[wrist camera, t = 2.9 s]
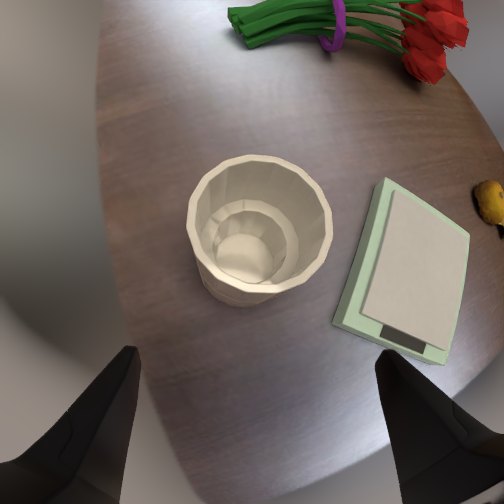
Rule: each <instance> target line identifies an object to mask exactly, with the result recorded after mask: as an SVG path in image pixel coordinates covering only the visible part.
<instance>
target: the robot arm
mask: <svg viewBox="0 0 504 504" xmlns="http://www.w3.org/2000/svg"><path fill="white" fill-rule="evenodd" d="M140 372H141V360H140V356H139V352H138V348H137V347H135V346H128V345H127V346H125V347H124V348H123V349H122V350H121V351H120V352H119V353H118V354H117V355H116V356H115V357H114V358H113V360H112V361H111V362H110V363H109V364H108V365H107V366H106V367H105V368H104V369H103V370H102V372H101V373H100V374H99V375H98V376H97V377H96V378H95V379H94V380H93V382H92V383H91V384H90V385H89V386H88V387H87V389H86V390H85V391H84V392H83V393H82V394H81V395H80V396H79V397H78V398H77V400H76V401H75V402H74V403H73V404H72V405H71V407H70V408H69V409H68V412H67V411H66V412H65V413H64V414H63V416H62V417H61V418H60V419H59V420H58V421H57V422H56V423H55V424H54V425H53V426H52V427H51V428H50V429H49V430H48V431H47V432H46V433H45V434H44V435H43V436H42V437H41V438H40V439H39V440H37V441H36V442H35V443H34V444H33V445H32V446H31V447H30V448H29V449H27V450H26V451H25V452H24V453H23V454H22V455H20V456H19V457H17V458H16V459H13V460H11V461H7V462H3V463H0V504H119V500H120V494H121V487H122V481H123V474H124V468H125V463H126V457H127V451H128V446H129V441H130V436H131V431H132V426H133V421H134V416H135V411H136V406H137V399H138V389H139V380H140ZM375 372H376V378H377V384H378V390H379V396H380V401H381V406H382V409H383V413H384V417H385V421H386V425H387V429H388V433H389V438H390V442H391V446H392V451H393V455H394V460H395V464H396V469H397V474H398V479H399V484H400V485H399V486H400V491H401V497H402V503H403V504H504V434H499V433H496V432H493V431H492V430H490V429H489V428H487V427H486V426H484V425H483V424H481V423H480V422H479V421H478V420H476V419H475V418H474V417H472V416H471V415H470V414H468V413H467V412H466V411H465V410H463V409H462V408H461V407H460V406H458V405H457V404H456V403H455V402H454V401H452V399H451V398H449V397H448V396H447V395H446V394H445V393H444V392H443V391H441V390H440V389H439V388H438V387H437V386H436V385H435V384H433V383H432V382H431V381H430V380H429V379H428V378H427V377H425V376H424V375H423V374H422V373H421V372H420V371H418V370H417V369H416V368H415V367H414V366H413V365H411V364H410V363H409V362H408V361H407V360H406V359H405V358H403V357H402V356H401V355H400V354H399V353H397V352H396V351H395V350H394V349H385V350H383V351H382V353H381V354H380V356H379V358H378V359H377V361H376V363H375Z"/></svg>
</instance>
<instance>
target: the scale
mask: <svg viewBox="0 0 504 504" xmlns="http://www.w3.org/2000/svg"><path fill="white" fill-rule="evenodd" d="M469 239H470V234H469V233H467V232H466V231H465V230H463V229H462V228H461V227H459V226H458V225H457V224H455V223H454V222H453V221H451V220H450V219H449V218H447V217H446V216H444V215H443V214H442V213H440V212H439V211H437V210H436V209H435V208H433V207H432V206H430V205H429V204H427V203H426V202H424V201H423V200H421V199H420V198H418V197H417V196H415V195H414V194H412V193H411V192H409V191H407V190H406V189H404V188H403V187H401V186H400V185H398V184H396V183H395V182H393V181H391V180H390V179H388V178H386V177H385V178H384V179H383V180H382V181H381V182H379V183H378V184H377V185H376V186H375V188H374V192H373V196H372V200H371V203H370V207H369V211H368V214H367V218H366V222H365V225H364V229H363V232H362V235H361V239H360V242H359V245H358V249H357V252H356V255H355V258H354V261H353V264H352V267H351V270H350V273H349V276H348V279H347V282H346V285H345V288H344V291H343V294H342V297H341V299H340V302H339V305H338V308H337V310H336V313H335V316H334V318H333V321H332V325H334V326H337V327H339V328H341V329H344V330H346V331H348V332H351V333H353V334H356V335H358V336H360V337H363V338H365V339H368V340H370V341H372V342H375V343H377V344H380V345H382V346H385V347H387V348H390V349H394V350H395V351H397V352H400V353H402V354H405V355H407V356H410V357H412V358H415V359H417V360H420V361H422V362H425V363H428V364H430V365H440V366H445V364H446V360H447V357H448V354H449V350H450V346H451V343H452V339H453V335H454V331H455V327H456V323H457V318H458V314H459V309H460V304H461V299H462V293H463V287H464V281H465V275H466V267H467V259H468V250H469Z"/></svg>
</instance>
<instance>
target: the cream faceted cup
mask: <svg viewBox="0 0 504 504" xmlns="http://www.w3.org/2000/svg"><path fill="white" fill-rule="evenodd" d="M186 227H187V232H188V236H189V240H190V243H191V247H192V250H193V254H194V258H195V261H196V265H197V268H198V271H199V274H200V277H201V280H202V283H203V285H204V286H205V287H206V289H207V290H208V291H209V292H210V293H211V294H212V295H213V296H214V297H215V298H216V299H217V300H219V301H222V302H224V303H226V304H228V305H230V306H233V307H253V306H256V305H258V304H261V303H263V302H266V301H268V300H270V299H272V298H274V297H276V296H279V295H281V294H283V293H285V292H287V291H289V290H291V289H293V288H295V287H297V286H299V285H301V284H303V283H304V282H306V281H307V280H308V279H309V278H310V277H311V276H312V275H313V274H314V273H315V272H316V270H317V269H318V268H319V267H320V266H321V265H322V264H323V263H324V262H325V259H326V256H327V253H328V251H329V248H330V245H331V242H332V239H333V226H332V211H331V209H330V206H329V204H328V202H327V200H326V198H325V196H324V194H323V192H322V190H321V188H320V186H319V185H318V184H317V183H316V182H315V181H314V180H313V179H312V178H311V177H310V176H309V175H308V174H307V173H306V172H305V171H304V170H302V169H301V168H300V167H298V166H296V165H293V164H291V163H289V162H287V161H285V160H283V159H280V158H278V157H274V156H264V155H253V154H249V155H245V156H241V157H237V158H233V159H229V160H226V161H224V162H222V163H221V164H219V165H218V166H217V167H215V168H214V169H212V170H211V171H210V172H208V173H207V174H206V175H204V176H203V177H202V179H201V181H200V182H199V184H198V186H197V187H196V189H195V191H194V192H193V194H192V196H191V197H190V200H189V206H188V215H187V224H186Z"/></svg>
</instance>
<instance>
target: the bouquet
mask: <svg viewBox="0 0 504 504" xmlns="http://www.w3.org/2000/svg"><path fill="white" fill-rule="evenodd" d="M397 2H398V3H399V5H400V6H401V8H398V7H395V6H393V5H389V4H386V3H397ZM368 5H376V6H380V7H384V8H387V9H391V10H395V11H398V12H400V15H401V16H399V15H396V14H393V13H390V12H387V11H384V10H381V9H378V8H375V7H371V6H368ZM345 12H360V13H371V14H381V15H387V16H392V17H395V18H398V19H401V21H402V23H403V25H404V27H405V30H403V31H399V30H396V29H394V28H391V27H389V26H386V25H383V24H379V23H376V22H372V21H367V20H363V19H359V18H354V17H348V16H346V14H345ZM333 13H335V14H333ZM227 17H228V19H229V21H230V22H231V23H232V27H233V28H234V30H235V31H236V33H238V34H241V33H244V34H245V35H242V38H243V40H244V41H245V43H246V45H247V46H248V48H249V50H250V49H252V48H254V47H256V46H259V45H261V44H263V43H265V42H268V41H270V40H273V39H275V38H278V37H280V36H283V35H285V34H310V35H318V37H319V40H320V42H321V45H322V47H323V48H324V49H325V50H326V51H329V52H332V53H334V52H336V51H338V50H340V49H341V48H342V44H343V41H344V38H350V39H357V40H360V41H364V42H367V43H370V44H373V45H376V46H379V47H382V48H384V49H387V50H390V51H392V52H394V53H396V54H398V55H400V56H402V64H403V65H405V68H406V70H407V72H409V73H410V74H411V75H413V76H414V77H415V78H418V79H419V80H420V81H422V80H424V81H425V82H428V83H429V84H430V82H431V83H432V84H434V85H435V84H436V83H437V82H438V80H439V79H440V78H441V77H443V76H445V73H444V72H443V71H442V70H443V69H445V68H446V69H447V66H446V59H445V57H446V53H445V52H444V50H445V49H444V48H443V47H444V46H443V45H445V46H447V47H449V48H451V49H453V48H454V46H456V45H455V44H458V45H460V46H462V47H465V44H466V39H467V36H468V33H469V29H468V28H467V27H466V25H467V23H468V22H467V20H466V19H465V18H464V13H463V2H462V1H461V0H266V1H264V2H261V3H258V4H256V5H253V6H250V7H233V8H228V16H227ZM346 26H362V27H364V28H366V29H368V30H370V31H372V32H373V33H375V34H377V35H379V36H380V37H382V38H384V39H386V40H387V41H389V42H390V43H392V44H394V45H395V46H397V47H398V48H400V49H402V50H403V51H404V53H403V54H402V53H400V52H398V51H397V50H395V49H393V48H391V47H390V46H388V45H386V44H383V43H381V42H378V41H375V40H373V39H370V38H367V37H364V36H361V35H358V34H354V33H349V32H346ZM323 27H336V30H332V29H326V28H323ZM381 28H382V29H381ZM384 29H386V30H389V31H392V32H395V33H398V34H401V36H398V35H395V34H393V33H391V32H389V31H386V30H384ZM383 33H384V34H386V35H389V36H392V37H395V38H397V39H399V40H401V44H402V46H400V45H399V44H397V43H396V42H395V41H393V40H392V39H390V38H389V37H387V36H386V35H384V34H383ZM326 36H333V37H334V40H333V44H331V43H330V42H329V40H328V38H327V37H326ZM399 40H398V41H399ZM442 46H443V47H442ZM456 47H457V46H456ZM446 49H447V48H446ZM428 80H429V81H430V82H429V81H428ZM422 82H423V81H422ZM430 86H431V85H430Z"/></svg>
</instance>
